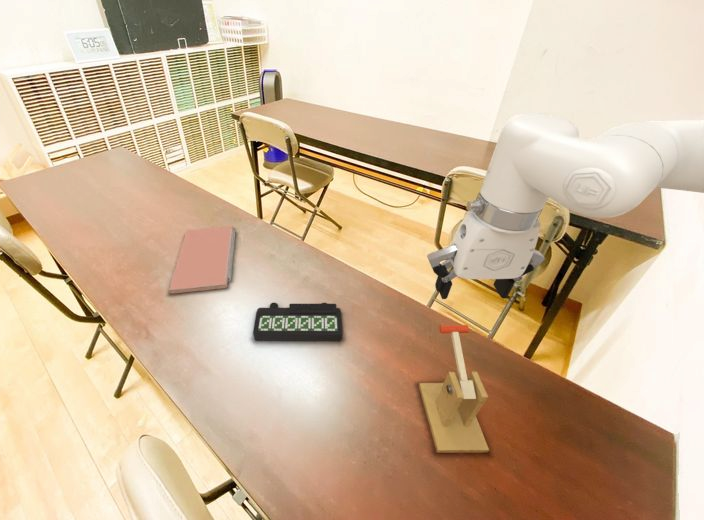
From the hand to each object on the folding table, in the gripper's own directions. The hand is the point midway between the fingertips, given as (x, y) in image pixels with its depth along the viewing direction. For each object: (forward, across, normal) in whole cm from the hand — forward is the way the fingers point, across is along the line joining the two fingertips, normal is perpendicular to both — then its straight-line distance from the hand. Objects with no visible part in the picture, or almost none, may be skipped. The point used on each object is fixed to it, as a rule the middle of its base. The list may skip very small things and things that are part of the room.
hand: (470, 292), depth 54 cm
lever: (+14, 0, -4) cm, 15 cm away
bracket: (+26, 0, -9) cm, 28 cm away
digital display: (+27, -30, +13) cm, 42 cm away
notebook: (+27, -60, +38) cm, 76 cm away
